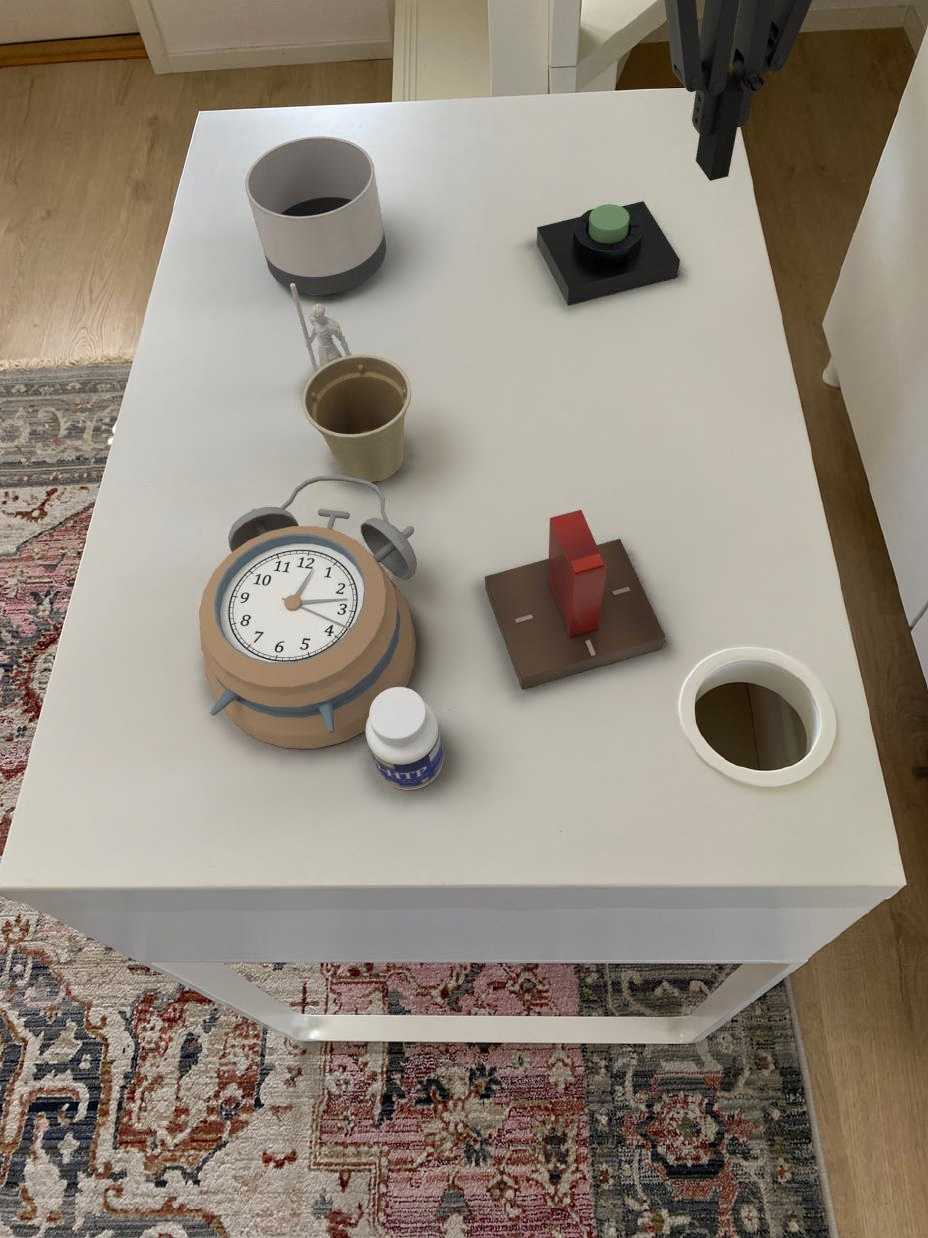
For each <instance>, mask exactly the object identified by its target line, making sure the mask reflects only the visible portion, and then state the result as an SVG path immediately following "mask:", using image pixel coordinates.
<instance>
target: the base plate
mask: <svg viewBox="0 0 928 1238" xmlns="http://www.w3.org/2000/svg"><path fill="white" fill-rule="evenodd" d="M597 547H598V549H599V551H600V554H601V556H602V558H603V561H604V563H605V565H606V567H607V568H606V576H605V584H604V592H603V599H602V607H601V615H600V623H599V629H597V630H593V631H590V632H586V633H583V634H579V635H576V636H572V637H569V635H568V633H567V630H566V627H565V625H564V622H563V620H562V617H561V615H560V612H559V610H558V607H557V605H556V602H555V599H554V597H553V594H552V592H551V589H550V587H549V584H548V560H549V558H546V559H541V560H538V561H535V562H532V563H527V564H523V565H521V566H520V565H519V566H517V567H513V568H509V569H506V570H503V571H499V572H496V573H492V574H489V575H485V576H484V586H485V587H484V588H485V592H486V594H487V597H488V600H489V602H490V606H491V608H492V611H493V615H494V617H495V619H496V623H497V625H498V627H499V630H500V634H501V636H502V639H503V641H504V644H505V647H506V650H507V653H508V655H509V658H510V661H511V664H512V667H513V669H514V672H515V674H516V677H517V680H518V683H519V686H520V688H521V690H524V689H529V688H531V687H534V686H540V685H542V684H545V683H548V682H552V681H555V680H559V679H562V678H567V677H569V676H572V675H576V674H579V673H582V672H583V673H584V672H586V671H590V670H594V669H596V668H599V667H604V666H607V665H609V664H613V663H617V662H620V661H623V660H627V659H630V658H634V657H637V656H641V655H644V654H647V653H648V654H649V653H651V652H655V651H658V650H662V649H663V648H664V644H665V640H666V635H665V632H664V630H663V628H662V626H661V624H660V622H659V620H658V618H657V615H656V612H655V611H654V609H653V606H652V604H651V601H650V599H649V597H648V596H647V593H646V591H645V588H644V587H643V584H642V582H641V580H640V578H639V576H638V575H637V572H636V570H635V568H634V566H633V563H632V561H631V559H630V557H629V555H628V552H627V551H626V548H625V545H624V544H623V542H622V540H621V538H617V539H613V540H609V541H605V542H603V543H599V544H597Z"/></svg>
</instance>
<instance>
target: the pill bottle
mask: <svg viewBox="0 0 928 1238" xmlns="http://www.w3.org/2000/svg"><path fill="white" fill-rule="evenodd" d="M436 715H437V714H436V713H435V711H434V710H433V708H432V707H431V706H430V705H429V704H428V703H426V702H425V701H424V699H423V698H422V696H420V694H419V693H418V692H416V691H414V689H411V688H409V687H406V688H405V687H394V688H390V689H387V690H385V691H383V692H382V693H380V694H379V695H378V696H377V697H376V698H375V699H374V701H373V702H372V705H371V707H370V712H369V717H368V720H367V723H366V731H365V737H366V741H367V745H368V748H369V750H370V753H371V756H372V758H373V761H374V764H375V767H376V769H377V772H378V773H379V775H380V777H381V778H382V780H383V781H385V783H386V784H388V785H390V786H392V787H393V788H396V789H399V790H404V791H413V790H418V789H421V788H424V787H426V786H427V785H429V784H430V783H432V782H433V781H434V780H435V779H436V778H437V776H438V775H439V774H440V772H441V770H442V767H443V764H444V748H443V742H442V737H441V732H440V731H441V730H440V726H439V721H438V718H437V716H436Z"/></svg>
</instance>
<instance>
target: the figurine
mask: <svg viewBox="0 0 928 1238" xmlns="http://www.w3.org/2000/svg"><path fill="white" fill-rule="evenodd" d="M290 288H291V289H290V291H291V295H292V298H293V302H294V304H295V309H296V311H297V315H298V319H299V321H300V322H299V323H300V327H301V330H302V333H303V337H304V340H305V341H304V344H305V347H306V348H307V352H308V355H309V359H310V362H311V365H312V371H313V374H314V373H315V372H316V371H317V370H319V367H318V365H317V362H316V358H315V355H314V350H313V347H312V343H313V342H314V340H315V339H316V337H317V344H318V349H317V355H318V361H319V366H320V368H321V367H322V366H324V365H326V364H327V363H329V362H331V361H333V360H336V359H338V358H341V357H345V356H350V355H353V354H352V353H351V351H350V348H349V344H348V342H346V339H345V338H346V336H345V335H343V334H344V333H343V330H341V326H340V324H339V322H338V321H337V320H336V319H335V318H333V317H331V318H330V317H328V316H326V315H325V314H326V308H325V307H324V305H323V304H321V303H317V304H315V305H314V306H312V308H311V311H312V312H311V314H308V315H307V317H308V320H309V322H310V324H311V325H312V326H313V328H312V331H311V334H310V335H309V332H308V328H307V324H306V321H305V318H304V317H305V316H304V314H303V310H302V306H301V301H300V298H299V297H300V296H299V292H297V289H296V286H295V284H294V283H292V284H290ZM332 336H334V337H335V338H336V339H337V340H338V342H340V346H341V348H342V350H343V351H344V354H345V355H344V356H343V354H342V353H341V351H340V349H339V348H338V346H337V345H336V343H335V342H334V338H333V337H332Z"/></svg>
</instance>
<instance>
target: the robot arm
mask: <svg viewBox="0 0 928 1238" xmlns="http://www.w3.org/2000/svg"><path fill="white" fill-rule="evenodd" d="M812 2H813V0H704V5H703V6H704V7H703V12H702V20H701V26H700V32H699V21H698V10H697V9H698V8H697V0H664V8H665V17H666V25H667V34H668V42H669V43H668V44H669V52H670V61H671V69H672V72H673V74H675V76H676V77H677V79H678V80H679V81H680V83H681V84H682V86H683V87H684V88H685V90H686V91H687V92H689V93H694V92H695V94H694V102H693V109H692V116H691V123H692V127H693V128H694V130H696V132H697V133H698V135H699V136H698V142H697V149H696V155H695V156H696V157H695V162H696V164H697V165H698V167H699V168H700V170H701V171H702V172H703V174H704V175H705V177H706V178H707V179H708V181H709V182H712V181H716V180H720V179H723V178H728V177H729V175H730V169H731V163H732V159H733V153H734V148H735V143H736V137H737V132H738V128H742V127H746V124H747V122H748V120H749V118H750V113H751V108H752V103H753V98H754V94H755V93H759V92H760V91H761V90H762V89H763V88H764V86H765V84H766V81H765V80H764V78H763V77H762V76H763V75H765V74H767V73H769V72H770V71H772V72H774V73H776V72H779V71H781V70H783V69H784V67H785V66H786V64H787V62H788V60H789V57H790V55H791V53H792V50H793V48H794V45H795V43H796V41H797V39H798V35H799V33H800V31H801V29H802V26H803V24H804V22H805V19H806V16H807V14H808V12H809V9H810V7H811V5H812ZM699 33H700V34H699ZM729 67H730V68H731V72H730V71H729Z"/></svg>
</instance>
